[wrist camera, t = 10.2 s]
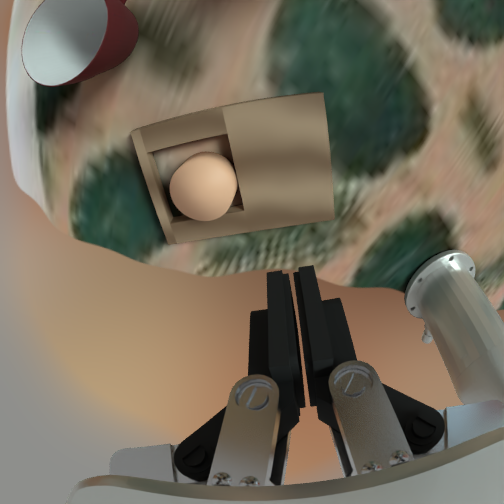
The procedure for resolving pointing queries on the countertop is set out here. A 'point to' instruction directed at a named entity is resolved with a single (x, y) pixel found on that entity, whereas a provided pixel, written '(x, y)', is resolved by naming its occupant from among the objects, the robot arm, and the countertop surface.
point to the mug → (77, 40)
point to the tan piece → (252, 164)
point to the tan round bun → (204, 186)
